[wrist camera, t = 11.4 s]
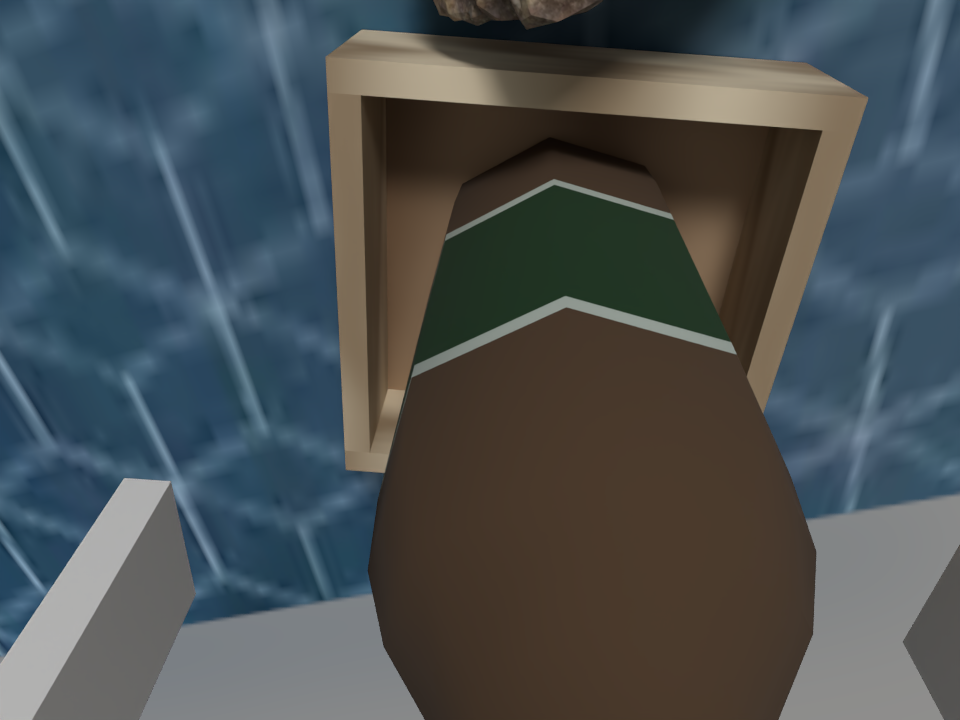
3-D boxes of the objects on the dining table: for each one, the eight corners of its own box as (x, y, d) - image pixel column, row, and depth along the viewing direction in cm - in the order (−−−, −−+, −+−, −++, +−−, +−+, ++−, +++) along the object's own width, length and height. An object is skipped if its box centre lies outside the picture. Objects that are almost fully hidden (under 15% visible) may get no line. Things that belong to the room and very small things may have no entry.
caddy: (370, 392, 27) (345, 469, 24) (362, 29, 21) (325, 57, 17) (705, 420, 27) (733, 502, 23) (806, 62, 20) (868, 98, 17)
